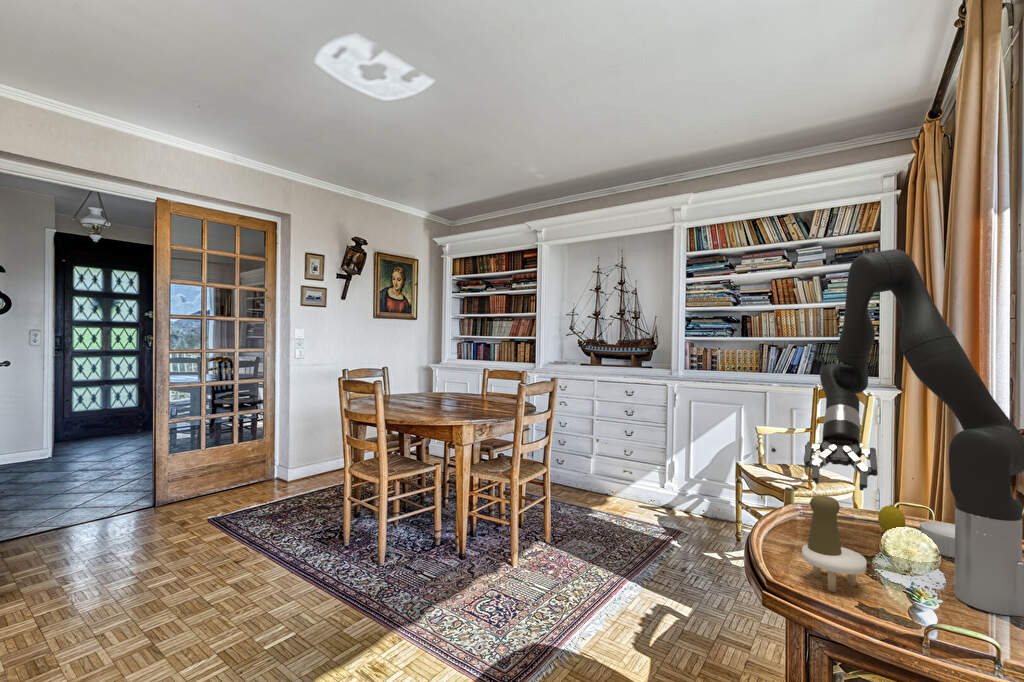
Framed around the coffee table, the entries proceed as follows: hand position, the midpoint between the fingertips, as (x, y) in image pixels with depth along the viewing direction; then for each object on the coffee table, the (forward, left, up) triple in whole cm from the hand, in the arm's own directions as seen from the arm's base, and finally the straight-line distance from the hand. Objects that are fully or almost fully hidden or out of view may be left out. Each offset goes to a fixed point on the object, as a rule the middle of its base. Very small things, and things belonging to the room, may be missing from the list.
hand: (838, 485), depth 112 cm
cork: (+2, +12, -11) cm, 17 cm away
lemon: (-10, -25, -17) cm, 32 cm away
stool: (0, +14, -17) cm, 22 cm away
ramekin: (-21, -22, -17) cm, 35 cm away
